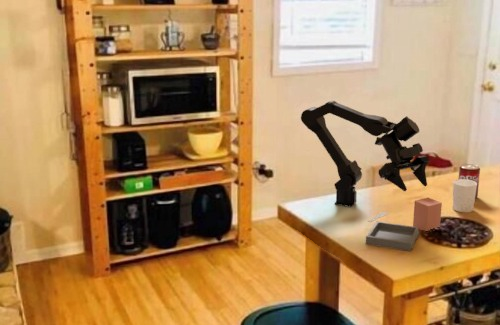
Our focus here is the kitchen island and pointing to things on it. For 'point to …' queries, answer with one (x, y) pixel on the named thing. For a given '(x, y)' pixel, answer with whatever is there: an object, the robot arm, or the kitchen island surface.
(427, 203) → the terracotta block
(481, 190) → the kitchen island surface
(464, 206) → the white cup
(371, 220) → the butter knife
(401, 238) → the charcoal tray
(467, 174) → the soda can
